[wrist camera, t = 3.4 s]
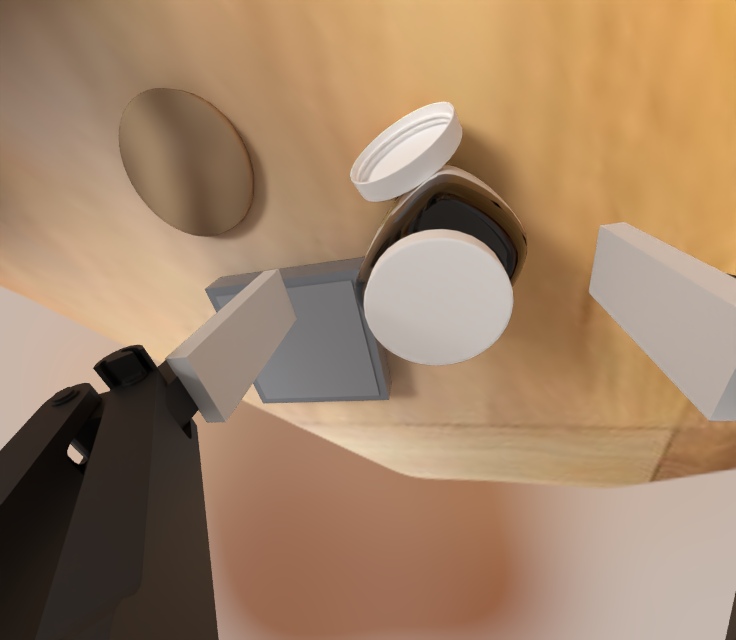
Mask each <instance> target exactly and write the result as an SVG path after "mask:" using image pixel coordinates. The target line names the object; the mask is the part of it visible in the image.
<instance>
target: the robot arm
mask: <svg viewBox="0 0 736 640" xmlns="http://www.w3.org/2000/svg"><path fill="white" fill-rule="evenodd" d="M589 293H590V295H591V296H592V297H593V298H594V299H595V300H596V301H597V302H598V303H599V304H600V305H601V306H602V307H603V308H604V309H605V311H606V312H607V313H608V314H609V315H610V316H611V317H612V318H613V319H614V320H615V321H616V322H617V323H618V324H619V325H620V327H621V328H622V329H623V330H624V331H625V332H626V333H627V334H628V335H629V336H630V337H631V338H632V339H633V340H634V341H635V343H636V344H637V345H638V346H639V347H640V348H641V349H642V350H643V351H644V352H645V353H646V354H647V355H648V356H649V357H650V358H651V360H652V361H653V362H654V363H655V364H656V365H657V366H658V367H659V368H660V369H661V370H662V371H663V372H664V373H665V374H666V376H667V377H668V378H669V379H670V380H671V381H672V382H673V383H674V384H675V385H676V386H677V387H678V388H679V389H680V390H681V392H682V393H683V394H684V395H685V396H686V397H687V398H688V399H689V400H690V401H691V402H692V403H693V404H694V405H695V406H696V408H697V409H698V410H699V411H700V412H701V413H702V414H703V415H704V416H705V417H706V418H707V419H708V420H709V421H736V276H735V275H731V274H726V273H724V272H722V271H720V270H718V269H716V268H714V267H712V266H710V265H708V264H706V263H704V262H702V261H700V260H698V259H696V258H694V257H692V256H690V255H688V254H686V253H684V252H682V251H680V250H679V249H677V248H675V247H673V246H671V245H669V244H667V243H665V242H663V241H661V240H659V239H657V238H655V237H653V236H651V235H649V234H647V233H645V232H643V231H641V230H639V229H637V228H635V227H633V226H631V225H629V224H627V223H625V222H621V223H614V224H606V225H600V228H599V234H598V240H597V246H596V252H595V257H594V263H593V269H592V275H591V281H590V287H589ZM296 319H297V318H296V316H295V313H294V310H293V307H292V305H291V302H290V299H289V296H288V294H287V291H286V288H285V285H284V282H283V280H282V277H281V274H280V271H279V269H275V270H267V271H263V272H262V273H261V274H260V275H259V276H258V277H257V278H256V279H254V280H253V281H252V282H251V283H250V284H249V285H248V286H247V287H245V288H244V289H243V290H242V291H241V292H240V293H239V294H237V295H236V296H235V297H234V298H233V299H232V300H231V301H230V302H228V303H227V304H226V305H225V306H224V307H223V308H222V309H221V310H219V311H218V312H217V313H216V314H215V315H214V316H213V317H211V318H210V319H209V320H208V321H207V322H206V323H205V324H204V325H202V326H201V327H200V328H199V329H198V330H197V331H196V332H195V333H193V334H192V335H191V336H190V337H189V338H188V339H187V340H185V341H184V342H183V343H182V344H181V345H180V346H179V347H178V348H176V349H175V350H174V351H173V352H172V353H171V354H170V355H169V356H167V357H166V358H165V359H166V360H165V361H164V362H163V363H162V364H161V365H160V366H158V367H157V366H156V365H155V363H154V362H153V360H152V359H151V357H150V356H149V355H148V353H147V352H146V350H145V349H144V347H143V346H142V345H133V346H128V347H125V348H122V349H120V350H118V351H115V352H113V353H111V354H110V355H108V356H106V357H104V358H103V359H102V360H100V361H99V362H98V363H97V364H96V365H95V366H94V368H93V369H94V370H95V371H96V372H97V374H98V375H99V376H100V377H101V378H102V380H103V381H104V382H105V383H106V385H107V386H108V387H109V388H110V391H109V392H105V393H101V394H98V393H97V392H96V390H95V389H94V388H93V387H92V386H91V385H90V384H89V383H82V384H78V385H75V386H72V387H67V388H65V389H63V390H61V391H59V392H57V393H56V394H55V395H54V396H53V397H52V398H50V399H49V400H47V401H46V402H45V403H44V404H43V405H42V406H41V407H40V408H39V409H38V410H37V411H36V413H35V414H34V415H33V416H32V417H31V418H30V419H29V420H28V421H27V422H26V423H25V424H24V426H23V427H22V428H21V429H20V430H19V431H18V432H17V433H16V434H15V435H14V436H13V437H12V439H11V440H10V441H9V442H8V443H7V444H6V445H5V446H4V447H3V448H2V449H1V451H0V640H219V639H218V630H217V620H216V610H215V600H214V590H213V580H212V571H211V561H210V551H209V542H208V531H207V521H206V511H205V501H204V491H203V482H202V472H201V462H200V452H199V442H198V432H197V426H196V424H195V422H194V421H193V419H192V417H193V416H194V415H195V413H196V412H197V411H198V410H199V411H200V413H201V414H202V416H203V417H204V419H205V420H206V422H226V421H227V420H228V419H229V417H230V416H231V414H232V413H233V411H234V410H235V408H236V407H237V405H238V404H239V402H240V401H241V400H242V398H243V397H244V395H245V394H246V392H247V391H248V389H249V388H250V386H251V385H252V384H253V382H254V381H255V379H256V378H257V376H258V375H259V373H260V372H261V370H262V369H263V367H264V366H265V365H266V363H267V362H268V360H269V359H270V357H271V356H272V354H273V353H274V351H275V350H276V349H277V347H278V346H279V344H280V343H281V341H282V340H283V338H284V337H285V335H286V334H287V332H288V331H289V330H290V328H291V327H292V325H293V324H294V322H295V321H296ZM70 444H71V445H72V446H73V447H74V448H75V449H76V450H77V451H78V452H79V453H80V454H81V455H82V456H83V459H82V461H81V462H80V464H77V463H75V462H74V461H73V460H72V459H71V458H70V457H69V456H68V455H67V450H68V447H69V445H70ZM725 640H736V593H735V598H734V602H733V607H732V612H731V616H730V621H729V626H728V630H727V635H726V639H725Z"/></svg>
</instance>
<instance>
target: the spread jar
mask: <svg viewBox="0 0 736 640" xmlns="http://www.w3.org/2000/svg"><path fill="white" fill-rule="evenodd" d="M462 136H463V132H462V127H461V125H460V122H459V119H458V117H457V114H456V111H455V109H454V107H453V105H452V104H451V103H448V102H437V103H432V104H429V105H426V106H424V107H421V108H419V109H417V110H415V111H413V112H411V113H409V114H408V115H406V116H404V117H403V118H401V119H399V120H398V121H396V122H395V123H394V124H392V125H391V126H389V127H388V128H387V129H386V130H384V131H383V132H382V133H381V134H379V135H378V136H377V137H376V138H375V139H374V140H373V141H372V142H371V143H370V144H369V145H368V146H367V147H366V148H365V149H364V150H363V152H362V153H361V154H360V155H359V157H358V158H357V159H356V161H355V163H354V165H353V166H352V169H351V172H350V178H351V180H352V182H353V184H354V185H355V187H356V188H357V189H358V191H359V192H360V194H361V195H362V197H363V198H364V199H366V200H367V201H371V202H381V201H386V200H390V199H392V198H395V197H398V196H400V195H401V196H400V197H399V198H398V199H397V201H396V202H395V203H394V205H393V206H392V207H391V209H390V210H389V212H388V213H387V215H386V217H385V218H384V220H383V222H382V223H381V225H380V227H379V229H378V231H377V233H376V235H375V237H374V239H373V241H372V243H371V245H370V247H369V250H368V252H367V254H366V256H365V259H364V261H363V263H362V265H361V268H360V270H359V273H358V275H357V279H356V282H355V298H356V301H357V303H358V305H359V306H360V308H361V309H362V310H363V311H364V312H365V317H366V320H367V323H368V326H369V328H370V330H371V331H372V333H373V334H374V336H375V338H376V339H377V340H378V341H379V342H380V343H381V344H382V345H383V346H384V347H385V348H386V349H388V350H389V351H390V352H392V353H393V354H395V355H397V356H399V357H401V358H403V359H405V360H408V361H411V362H414V363H418V364H424V365H448V364H455V363H459V362H462V361H466V360H468V359H471V358H473V357H475V356H477V355H479V354H481V353H482V352H483V351H485V350H486V349H488V348H489V347H491V346H492V345H493V344H494V343H495V342H496V341H497V340H498V339H499V338H500V336H501V335H502V333H503V332H504V330H505V329H506V327H507V325H508V322H509V320H510V317H511V315H512V309H513V302H514V301H513V290H512V287H513V285H514V284H515V282H516V280H517V278H518V276H519V274H520V271H521V269H522V267H523V264H524V262H525V259H526V255H527V238H526V234H525V231H524V228H523V226H522V224H521V222H520V221H519V219H518V218H517V216H516V215H515V214H514V212H513V211H512V210H511V208H510V207H509V206H508V205H507V204H506V203H505V202H504V201H503V199H502V198H501V197H500V196H499V195H498V194H497V193H496V192H495V191H493V190H492V189H491V188H490V187H489V186H488V185H486V184H485V183H484V182H482V181H481V180H480V179H478V178H477V177H475V176H473V175H472V174H470V173H468V172H466V171H464V170H462V169H460V168H457V167H454V166H451V165H444V164H445V163H446V162H447V161H448V160H449V159H450V158H451V157H452V155H453V154H454V153H455V151H456V150H457V148H458V146H459V144H460V142H461V139H462Z"/></svg>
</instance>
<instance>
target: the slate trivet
mask: <svg viewBox="0 0 736 640" xmlns="http://www.w3.org/2000/svg"><path fill="white" fill-rule="evenodd" d="M364 259H365V257H362V258H355V259H348V260H341V261H333V262H326V263H319V264H312V265H305V266H298V267H290V268H283V269H279V271H280V274H281V277H282V280H283V282H284V285H285V288H286V291H287V294H288V296H289V299H290V302H291V305H292V307H293V310H294V313H295V316H296V318H297V319H296V321H295V322H294V324H293V325H292V327H291V328H290V330H289V331H288V332H287V334H286V335H285V337H284V338H283V340H282V341H281V343H280V344H279V346H278V347H277V349H276V350H275V351H274V353H273V354H272V356H271V357H270V359H269V360H268V362H267V363H266V365H265V366H264V367H263V369H262V370H261V372H260V373H259V375H258V376H257V378H256V379H255V381H254V382H253V384H254V386H255V388H256V390H257V392H258V394H259V396H260V398H261V400H262V402H263V403H292V402H328V401H364V400H389V396H390V389H391V378H390V374H389V369H388V364H387V360H386V355H385V350H384V346H383V345H382V344H381V343H380V342H379V341H378V340H377V339H376V338H375V336H374V334H373V333H372V331H371V330H370V328H369V326H368V323H367V320H366V317H365V312H364V311H363V310H362V309H361V308H360V306H359V305H358V303H357V301H356V298H355V282H356V279H357V275H358V273H359V270H360V268H361V265H362V263H363V261H364ZM262 272H263V271H262ZM262 272H255V273H247V274H240V275H233V276H226V277H220V278H219V279H217V280H216V281H215V282H214V283H212V284H211V285H210V286H208V287H207V288H206V289H205V291H206V293H207V295H208V297H209V299H210V301H211V302H212V304H213V306H214V308H215V310H216V312H218V311H219V310H221V309H222V308H223V307H224V306H225V305H226V304H227V303H228V302H230V301H231V300H232V299H233V298H234V297H235V296H236V295H237V294H239V293H240V292H241V291H242V290H243V289H244V288H245V287H247V286H248V285H249V284H250V283H251V282H252V281H253V280H254V279H256V278H257V277H258V276H259V275H260V274H261V273H262Z"/></svg>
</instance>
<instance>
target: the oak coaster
mask: <svg viewBox="0 0 736 640" xmlns="http://www.w3.org/2000/svg"><path fill="white" fill-rule="evenodd" d="M119 146H120V152H121V157H122V161H123V164H124V167H125V170H126V172H127V175H128V177H129V179H130V181H131V183H132V185H133V186H134V188H135V190H136V191H137V193H138V194H139V196H140V197H141V198H142V200H143V201H144V202H145V203H146V205H147V206H148V207H149V208H150V209H151V210H152V211H153V212H154V213H155V214H156V215H157V216H159V217H160V218H161V219H162V220H164V221H165V222H166V223H168V224H169V225H171V226H173V227H175V228H176V229H178V230H181V231H183V232H185V233H189V234H192V235H197V236H214V235H218V234H221V233H223V232H225V231H227V230H229V229H231V228H233V227H234V226H236V225H237V224H238V223H239V222H240V221H241V220H242V219H243V218H244V217H245V215H246V214H247V212H248V210H249V208H250V205H251V202H252V198H253V193H254V177H253V170H252V165H251V161H250V158H249V155H248V152H247V150H246V148H245V145H244V143H243V141H242V139H241V138H240V136H239V134H238V133H237V131H236V130H235V128H234V127H233V125H232V124H231V123H230V122H229V121H228V119H227V118H226V117H225V116H224V115H223V114H222V113H221V112H220V111H219V110H218V109H216V108H215V107H214V106H213V105H212V104H210V103H209V102H207V101H206V100H204V99H202V98H201V97H198V96H196V95H194V94H192V93H189V92H185V91H181V90H174V89H166V88H156V89H151V90H147V91H145V92H143V93H140V94H139V95H138V96H136V97H135V98H134V99H133V100H132V101H131V102H130V103H129V104H128V106H127V107H126V109H125V111H124V113H123V116H122V118H121V123H120V128H119Z"/></svg>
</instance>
